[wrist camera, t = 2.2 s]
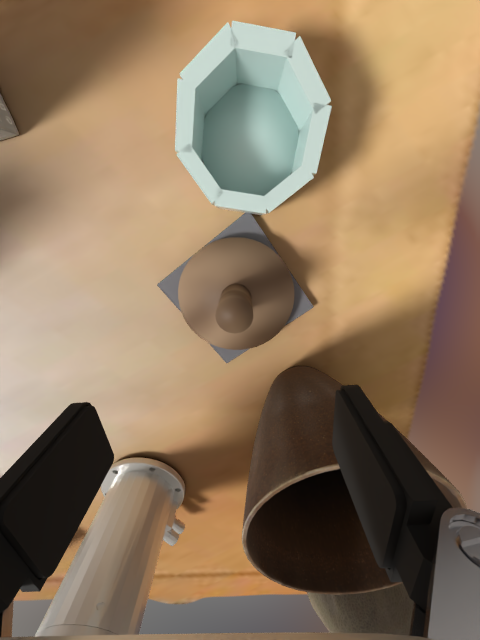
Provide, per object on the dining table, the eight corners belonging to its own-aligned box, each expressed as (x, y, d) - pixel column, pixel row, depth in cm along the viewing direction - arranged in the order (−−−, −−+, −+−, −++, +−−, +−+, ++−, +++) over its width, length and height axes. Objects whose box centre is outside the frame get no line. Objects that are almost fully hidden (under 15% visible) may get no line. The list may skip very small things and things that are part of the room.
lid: (313, 307, 26) (332, 330, 21) (226, 363, 29) (222, 396, 24) (248, 210, 23) (250, 206, 17) (157, 284, 26) (133, 302, 20)
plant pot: (328, 314, 27) (429, 424, 13) (378, 403, 32) (494, 561, 17) (220, 374, 31) (198, 518, 16) (278, 447, 35) (304, 612, 20)
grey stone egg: (287, 474, 37) (314, 625, 23) (382, 465, 36) (469, 617, 22) (294, 529, 42) (318, 679, 29) (377, 523, 41) (444, 675, 28)
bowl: (330, 162, 22) (353, 146, 17) (237, 235, 24) (236, 238, 20) (264, 36, 19) (271, -24, 14) (166, 134, 21) (144, 110, 17)
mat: (312, 305, 27) (313, 307, 26) (227, 360, 30) (226, 363, 29) (248, 210, 23) (248, 210, 23) (158, 283, 26) (156, 284, 26)
